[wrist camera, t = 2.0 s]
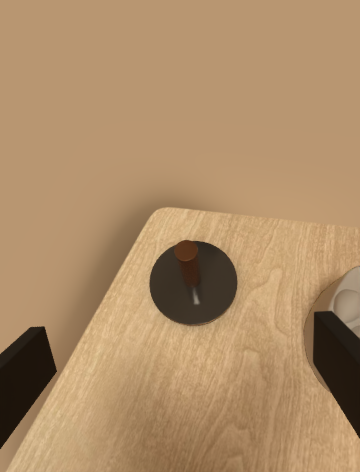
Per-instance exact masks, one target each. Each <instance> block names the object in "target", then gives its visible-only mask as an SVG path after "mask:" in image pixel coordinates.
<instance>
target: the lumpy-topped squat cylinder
mask: <svg viewBox="0 0 360 472" xmlns="http://www.w3.org/2000/svg"><path fill="white" fill-rule="evenodd" d="M317 311H333V312H334V313H335V314H336V315H337V316H338V317H339V318H340V319H341V320H342V321H343V322H344V323H345V324H346V325H347V326H348V327H349V328H350V329H351V330H352V331H353V332H354V333H355V334H356V335H357V336H358V337H359V338H360V266H357V267H354V268H352V269H351V270H349V271H348V272H347V273H345V274H344V275H343V276H342V277H340V278H339V279H338V280H337V281H335V282H334V283H333V284H332V285H330V286H329V287H328V288H327V289H325V290H324V291H323V292H322V293H321V294H320V296H319V297H318V299H317V300H316V302H315V303H314V305H313V307H312V309H311V311H310V313H309V315H308V317H307V320H306V323H305V326H304V342H305V349H306V354H307V358H308V361H309V363H310V366H311V368H312V370H313V372H314V374H315V375H316V377H317V379H318V380H319V381H320V383H321V384H322V385H323V386H324V387H325V388H326V389H327V390H328V391H330V390H329V388H328V387H327V385H326V383H325V382H324V380H323V378H322V377H321V375H320V374H319V372H318V370H317V369H316V367H315V366H314V364H313V331H314V312H317ZM330 392H331V391H330Z"/></svg>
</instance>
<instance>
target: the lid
mask: <svg viewBox="0 0 360 472" xmlns="http://www.w3.org/2000/svg"><path fill="white" fill-rule="evenodd" d="M236 290H237V275H236V271H235V268H234V266H233V264H232V262H231V260H230V259H229V257H228V256H227V255H226V254H225V253H224V252H223V251H222V250H220V249H219V248H217V247H216V246H214V245H211V244H209V243H205V242H200V241H189V240H184V241H181V242H179V243H178V244H177V245H174V246H172V247H171V248H169V249H168V250H166V251H165V252H164V253H163V254H162V255H161V256H160V257H159V258H158V260H157V261H156V263H155V264H154V266H153V269H152V272H151V275H150V292H151V296H152V299H153V301H154V303H155V305H156V306H157V308H158V309H159V310H160V311H161V312H162V313H163V314H164V315H165V316H166V317H167V318H169V319H170V320H172V321H174V322H176V323H179V324H183V325H189V326H196V325H203V324H207V323H209V322H212V321H214V320H216V319H217V318H219V317H220V316H222V315H223V314H224V313H225V312H226V311H227V309H228V308H229V307H230V305H231V304H232V302H233V300H234V297H235V294H236Z"/></svg>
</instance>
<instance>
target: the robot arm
mask: <svg viewBox="0 0 360 472" xmlns="http://www.w3.org/2000/svg"><path fill="white" fill-rule="evenodd" d="M313 364H314V366H315V367H316V369H317V370H318V372H319V374H320V375H321V377H322V378H323V380H324V382H325V383H326V385H327V387H328V388H329V390H330V391H331V393H332V395H333V396H334V398H335V399H336V401H337V403H338V404H339V406H340V408H341V409H342V411H343V412H344V414H345V416H346V417H347V419H348V420H349V422H350V424H351V425H352V427H353V429H354V430H355V432H356V433H357V435H358V437H359V438H360V338H359V337H358V336H357V335H356V334H355V333H354V332H353V331H352V330H351V329H350V328H349V327H348V326H347V325H346V324H345V323H344V322H343V321H342V320H341V319H340V318H339V317H338V316H337V315H336V314H335V313H334V312H333V311H317V312H314V331H313ZM56 372H57V370H56V366H55V363H54V359H53V356H52V352H51V349H50V345H49V341H48V338H47V334H46V330H45V327H30V328H29V329H28V330H27V331H26V332H25V333H23V334H22V335H21V336H20V337H19V338H18V339H17V340H16V341H15V342H13V343H12V344H11V345H10V346H9V347H8V348H7V349H6V350H4V351H3V352H2V353H1V354H0V449H1V447H2V446H3V445H4V443H5V442H6V441H7V439H8V438H9V436H10V435H11V434H12V432H13V431H14V430H15V428H16V427H17V426H18V424H19V423H20V421H21V420H22V419H23V417H24V416H25V415H26V413H27V412H28V410H29V409H30V408H31V406H32V405H33V404H34V402H35V401H36V399H37V398H38V397H39V395H40V394H41V392H42V391H43V390H44V388H45V387H46V386H47V384H48V383H49V382H50V380H51V379H52V377H53V376H54V375H55V373H56Z"/></svg>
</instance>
